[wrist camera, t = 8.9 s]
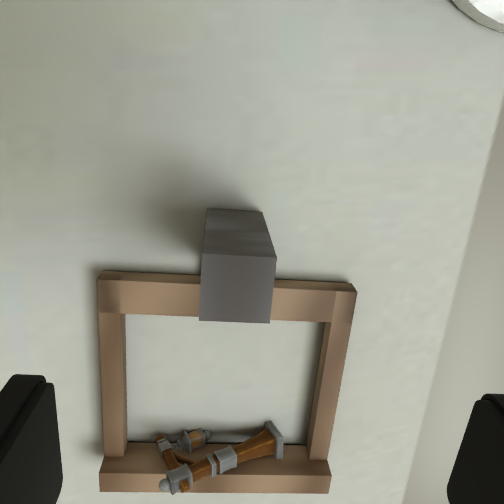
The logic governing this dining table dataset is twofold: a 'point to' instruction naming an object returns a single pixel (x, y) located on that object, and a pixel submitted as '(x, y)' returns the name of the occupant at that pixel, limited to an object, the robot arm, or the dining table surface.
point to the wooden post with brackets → (213, 456)
